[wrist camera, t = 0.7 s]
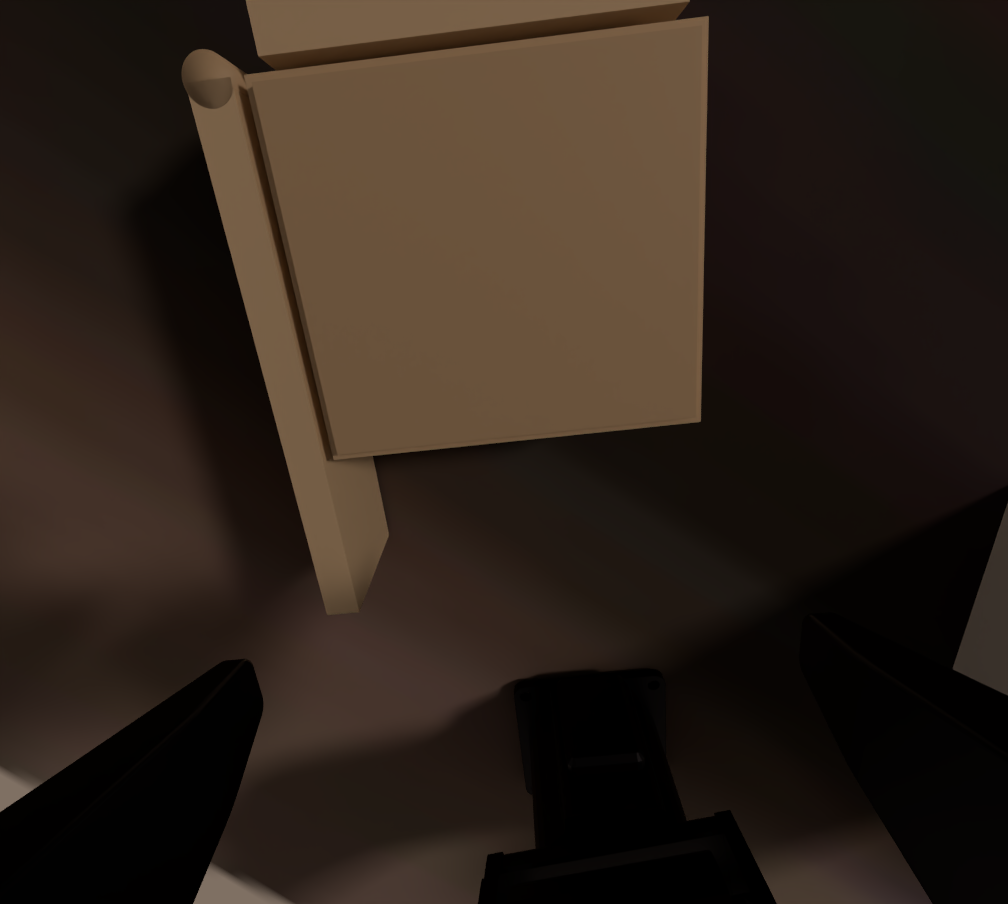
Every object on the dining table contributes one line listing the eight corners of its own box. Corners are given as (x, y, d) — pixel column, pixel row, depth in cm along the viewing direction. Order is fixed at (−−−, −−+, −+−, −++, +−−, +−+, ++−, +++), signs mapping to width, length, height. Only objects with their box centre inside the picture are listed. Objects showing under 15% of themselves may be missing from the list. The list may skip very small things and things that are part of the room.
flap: (390, 534, 21) (360, 611, 17) (362, 537, 21) (325, 615, 17) (301, 101, 16) (225, 46, 12) (265, 106, 16) (174, 52, 12)
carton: (652, 379, 19) (703, 424, 15) (372, 409, 20) (331, 462, 15) (647, 29, 16) (714, -68, 11) (306, 73, 16) (222, -3, 11)
